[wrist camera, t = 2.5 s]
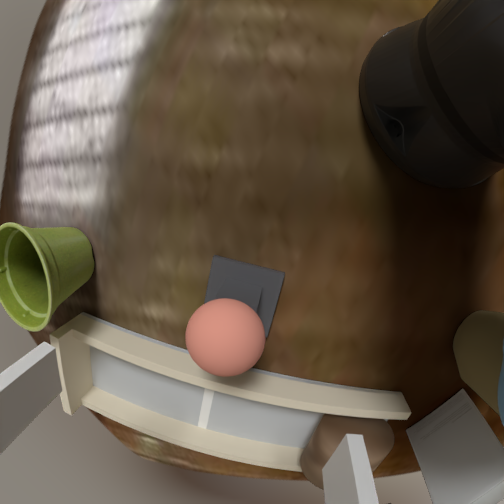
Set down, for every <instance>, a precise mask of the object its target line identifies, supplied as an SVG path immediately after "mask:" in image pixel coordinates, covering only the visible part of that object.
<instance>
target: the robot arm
mask: <svg viewBox="0 0 504 504" xmlns="http://www.w3.org/2000/svg"><path fill="white" fill-rule="evenodd" d="M359 92H360V100H361V105H362V109H363V112H364V116H365V118H366V121H367V124H368V126H369V128H370V130H371V132H372V134H373V136H374V137H375V139H376V141H377V142H378V144H379V145H380V147H381V148H382V149H383V151H384V152H385V153H386V154H387V156H388V157H389V158H390V159H391V160H392V161H393V162H394V163H395V164H396V165H397V166H398V167H399V168H401V169H402V170H403V171H404V172H406V173H407V174H408V175H410V176H411V177H413V178H415V179H417V180H418V181H420V182H423V183H425V184H428V185H431V186H435V187H440V188H467V187H471V186H474V185H477V184H479V183H481V182H483V181H484V180H486V179H487V178H488V177H490V176H491V175H493V174H495V173H496V172H498V171H500V170H501V169H503V168H504V0H439V1H438V2H437V3H436V4H435V6H434V7H433V8H432V10H431V11H430V12H429V13H428V14H427V16H426V17H425V18H422V19H420V20H417V21H414V22H412V23H409V24H407V25H405V26H402V27H398V28H395V29H393V30H390V31H389V32H387V33H386V34H384V35H383V36H382V37H381V38H380V39H379V40H378V41H377V42H376V43H375V44H374V46H373V47H372V49H371V50H370V52H369V53H368V55H367V57H366V59H365V60H364V63H363V65H362V69H361V73H360V80H359ZM62 391H63V390H62V385H61V380H60V374H59V368H58V362H57V355H56V348H55V347H53V346H51V345H49V344H48V343H46V342H43V343H42V344H40V345H39V346H37V347H36V348H35V349H33V350H32V351H30V352H29V353H28V354H26V355H25V356H24V357H22V358H21V359H19V360H18V361H17V362H15V363H14V364H13V365H11V366H10V367H9V368H7V369H6V370H5V371H3V372H2V373H1V374H0V454H1V453H2V452H3V451H4V450H5V449H6V448H7V447H8V446H9V445H10V444H11V443H12V442H13V441H14V439H16V437H17V436H18V435H19V434H20V433H21V432H22V431H23V430H24V429H25V428H26V427H27V426H28V425H29V424H30V423H31V422H32V421H33V420H34V419H35V418H36V417H37V416H38V415H39V414H40V413H41V412H42V411H43V410H44V409H45V408H46V407H47V406H48V405H49V404H50V403H51V402H52V401H53V400H54V399H55V398H56V397H57V396H58V394H60V393H61V392H62ZM498 407H499V413H500V418H501V421H502V424H503V426H504V339H503V361H502V366H501V372H500V376H499V382H498ZM322 473H323V485H324V497H325V504H379V502H378V497H377V493H376V489H375V484H374V479H373V475H372V471H371V467H370V463H369V459H368V455H367V451H366V447H365V443H364V439H363V435H358V434H346V435H345V436H344V438H343V439H342V441H341V443H340V444H339V446H338V447H337V449H336V450H335V452H334V453H333V454H332V456H331V457H330V459H329V460H328V462H327V463H326V464H325V466H324V467H323V469H322Z"/></svg>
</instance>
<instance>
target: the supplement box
mask: <svg viewBox="0 0 504 504" xmlns="http://www.w3.org/2000/svg"><path fill="white" fill-rule="evenodd" d="M406 433H407V435H408V437H409V440H410V442H411V445H412V447H413V450H414V453H415V455H416V458H417V460H418V463H419V466H420V469H421V471H422V474H423V477H424V480H425V483H426V485H427V488H428V491H429V494H430V497H431V500H432V503H433V504H497V503H498V502H499V501H501V500H502V499H504V448H503V446H502V444H501V443H500V441H499V440H498V438H497V437H496V435H495V434H494V432H493V431H492V429H491V427H490V426H489V424H488V423H487V421H486V420H485V419H484V417H483V416H482V414H481V413H480V411H479V410H478V408H477V407H476V406H475V404H474V403H473V401H472V400H471V399H470V397H469V396H468V394H467V393H466V392H465V390H464V389H461V390H460V391H459V392H458V393H457V394H455V395H454V396H453V397H452V398H450V399H449V400H448V401H446V402H445V403H444V404H443V405H441V406H440V407H439V408H437V409H436V410H434V411H433V412H432V413H430V414H429V415H428V416H426V417H425V418H423V419H422V420H420V421H419V422H418V423H416V424H414V425H413V426H411V427H410V428H408V429H407V430H406Z"/></svg>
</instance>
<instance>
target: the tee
mask: <svg viewBox="0 0 504 504" xmlns="http://www.w3.org/2000/svg"><path fill="white" fill-rule="evenodd" d="M284 275H285V272H281V271H277V270H273V269H269V268H265V267H261V266H257V265H253V264H249V263H245V262H241V261H237V260H233V259H229V258H225V257H221V256H217V255H214V256H213V260H212V265H211V270H210V276H209V281H208V286H207V292H206V297H205V302H204V304H205V303H207V302H209V301H212V300H215V299H222V298H228V299H235V300H238V301H241V302H243V303H245V304H246V305H248V306H249V307H251V308H252V309H253V310H254V311H255V312H256V313H257V315H258V316H259V318H260V319H261V321H262V324H263V326H264V330H265V337H267V336H268V333H269V329H270V326H271V322H272V319H273V315H274V312H275V308H276V304H277V301H278V297H279V294H280V290H281V286H282V283H283V279H284Z"/></svg>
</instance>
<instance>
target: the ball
mask: <svg viewBox="0 0 504 504" xmlns="http://www.w3.org/2000/svg"><path fill="white" fill-rule="evenodd" d="M186 346H187V349H188V352H189V354H190V356H191V358H192V359H193V361H194V362H195V363H196V364H197V365H198V366H199V367H200V368H201V369H203V370H204V371H206V372H208V373H210V374H213V375H216V376H222V377H229V376H236V375H239V374H242V373H244V372H246V371H247V370H249V369H250V368H251V367H253V366H254V365H255V364H256V362H257V361H258V360H259V358H260V356H261V355H262V352H263V350H264V346H265V330H264V326H263V324H262V321H261V319H260V318H259V316H258V315H257V313H256V312H255V311H254V310H253V309H252V308H251V307H249V306H248V305H246V304H245V303H243V302H241V301H238V300H235V299H228V298H222V299H215V300H212V301H209V302H207V303H205V304H204V305H202V306H201V307H199V308H198V309H197V310H196V311H195V312H194V314H193V315H192V317H191V318H190V320H189V322H188V325H187V329H186Z"/></svg>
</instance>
